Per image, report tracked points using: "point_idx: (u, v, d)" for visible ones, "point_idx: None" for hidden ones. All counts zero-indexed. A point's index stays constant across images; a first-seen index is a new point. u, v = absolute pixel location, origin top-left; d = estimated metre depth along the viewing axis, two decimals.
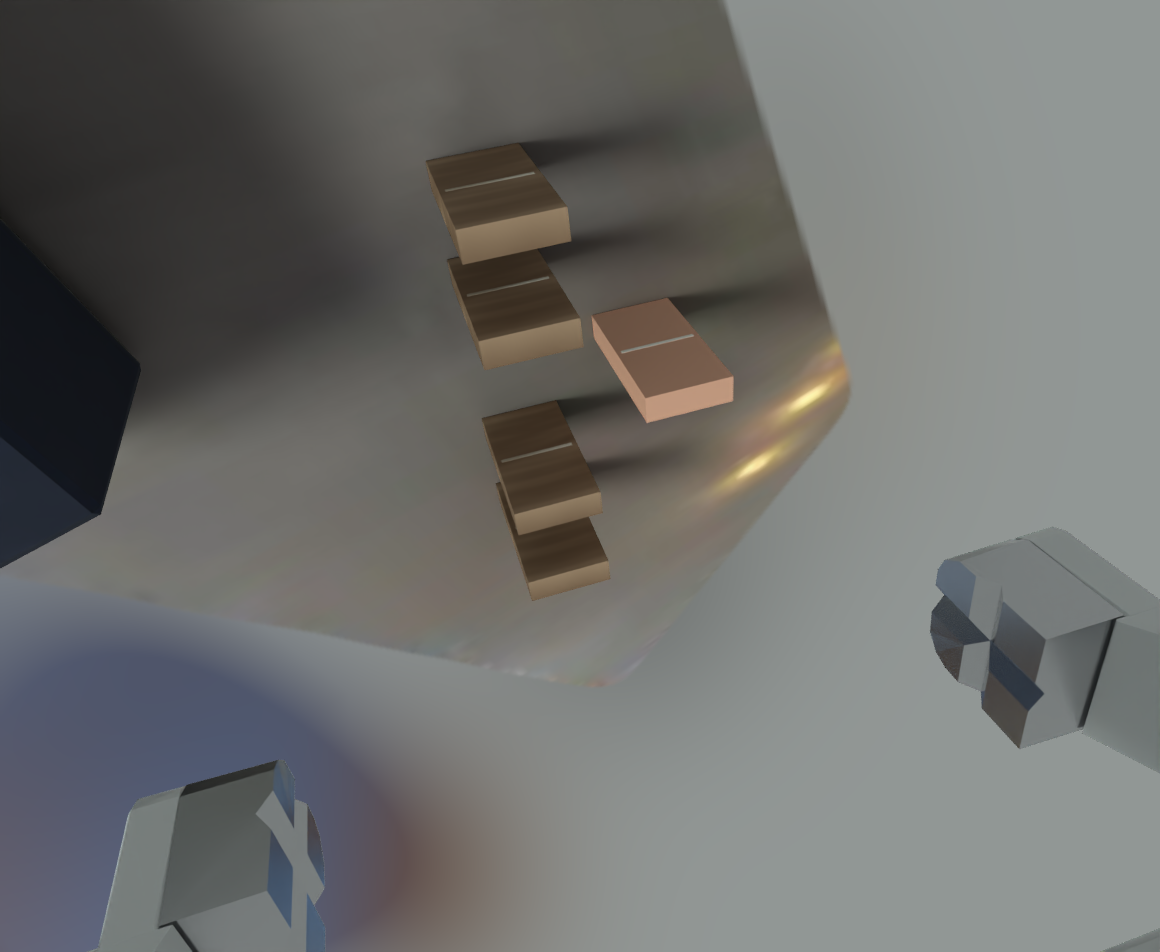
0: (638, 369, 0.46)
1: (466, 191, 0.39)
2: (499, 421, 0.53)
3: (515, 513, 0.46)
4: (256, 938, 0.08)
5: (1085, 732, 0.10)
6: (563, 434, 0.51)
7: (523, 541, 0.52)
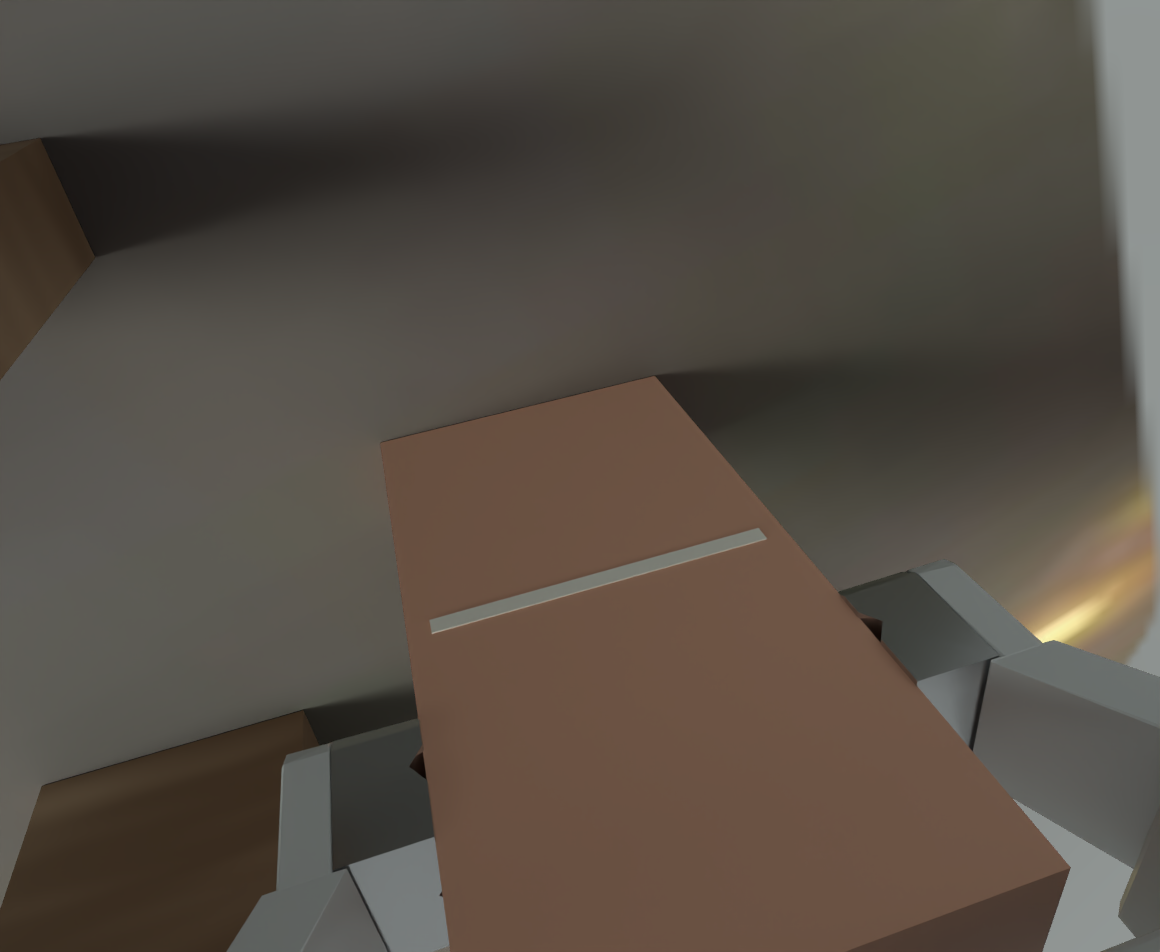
0: (484, 758, 0.08)
1: None
2: (87, 804, 0.15)
3: None
4: (418, 885, 0.08)
5: None
6: None
7: None
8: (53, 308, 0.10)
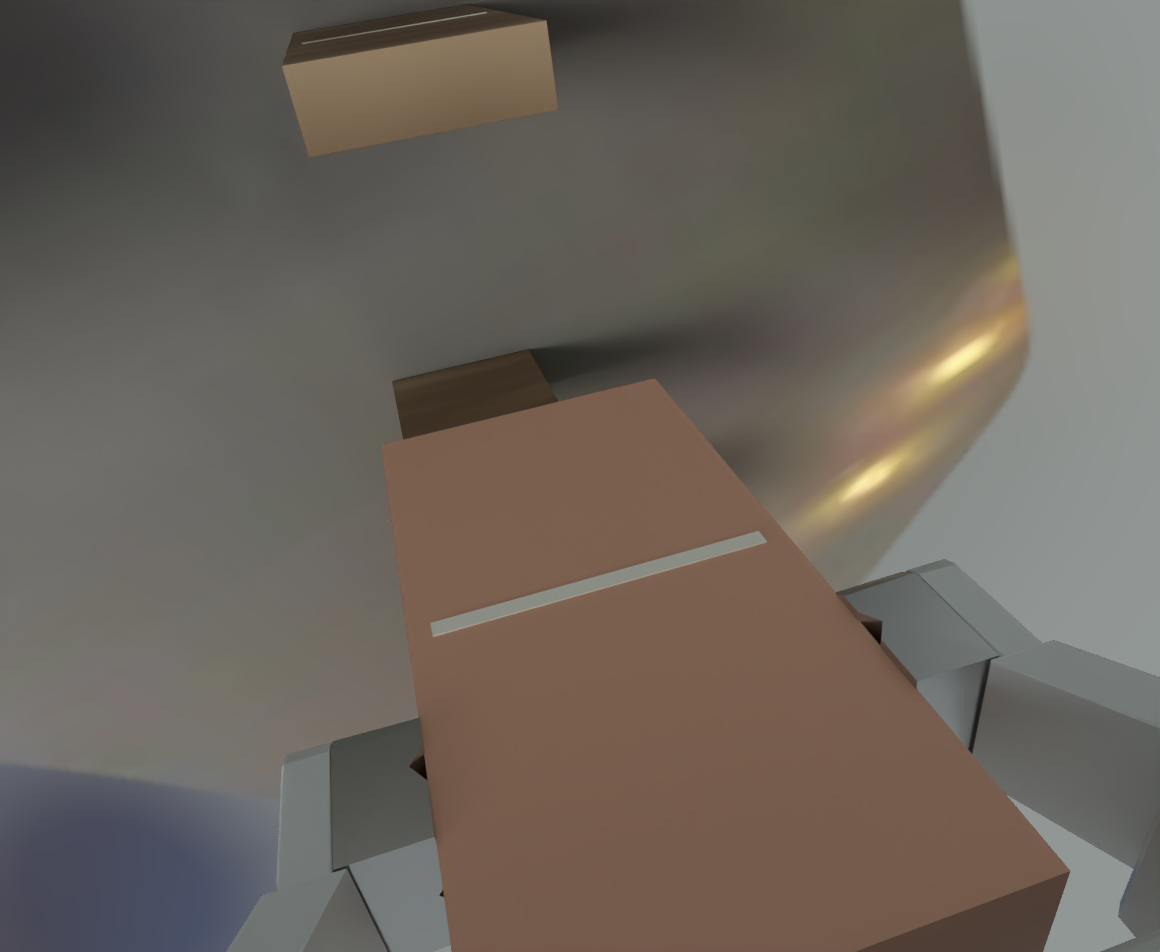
0: (485, 761, 0.08)
1: None
2: (423, 384, 0.29)
3: None
4: (418, 885, 0.08)
5: None
6: (538, 397, 0.27)
7: None
8: None
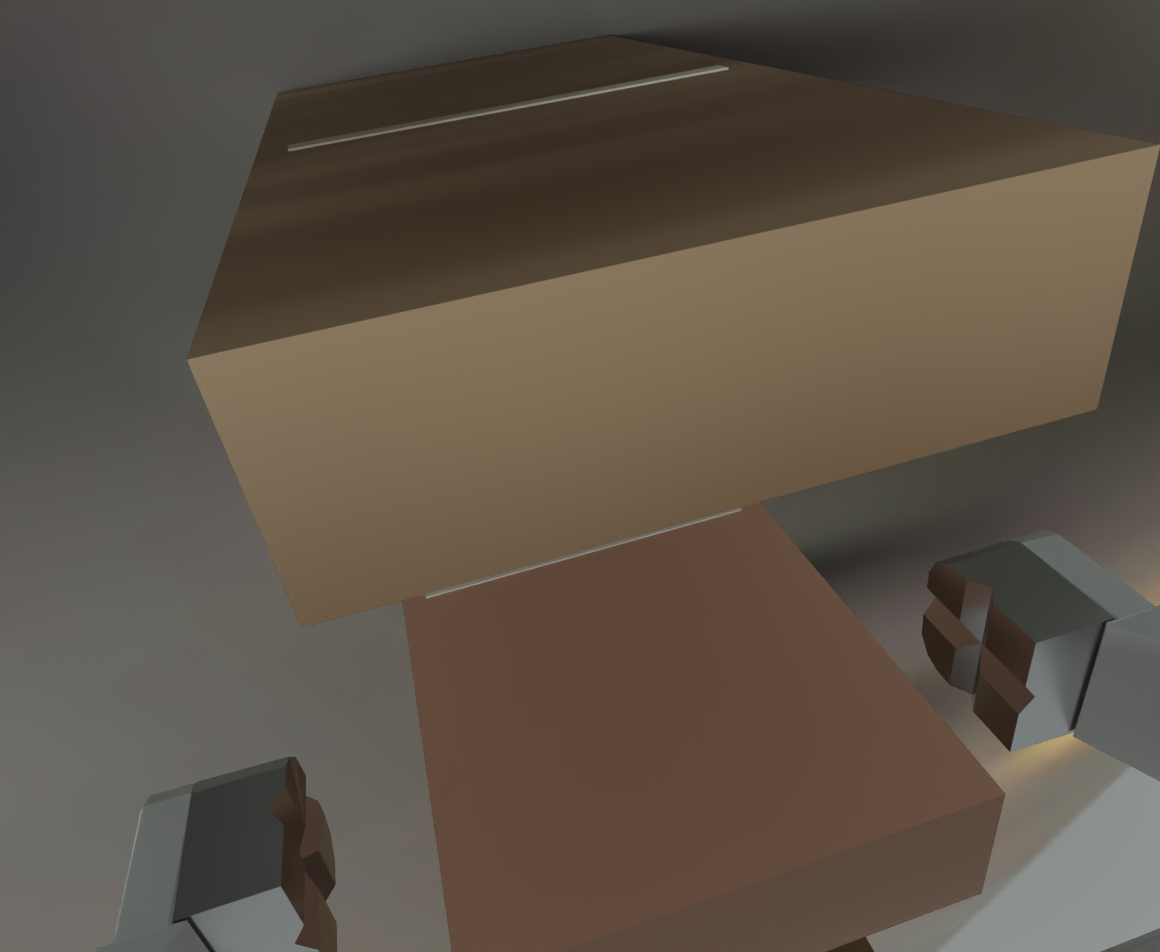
0: (473, 707, 0.09)
1: None
2: None
3: None
4: (270, 934, 0.08)
5: (1076, 735, 0.10)
6: None
7: None
8: None
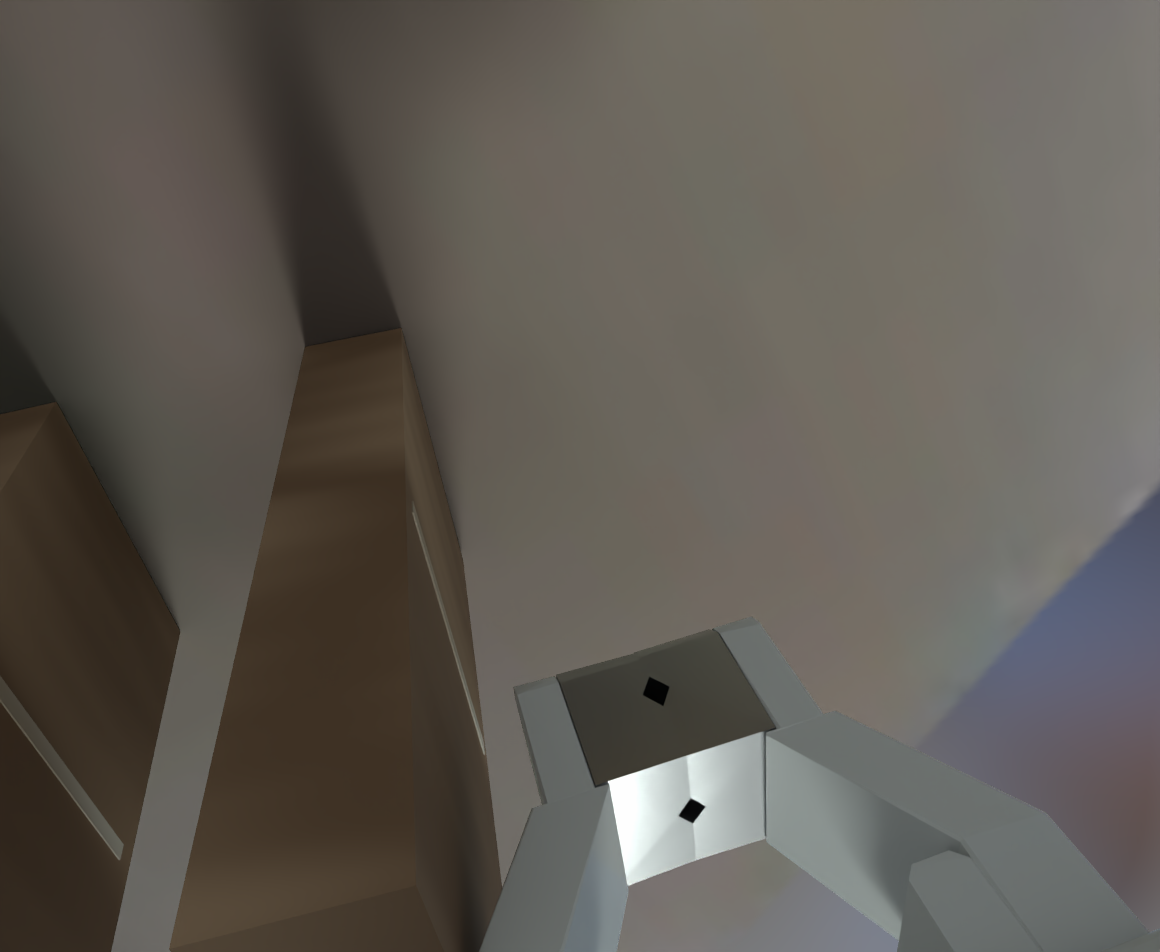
0: None
1: None
2: None
3: None
4: (663, 804, 0.08)
5: (768, 841, 0.09)
6: None
7: None
8: None
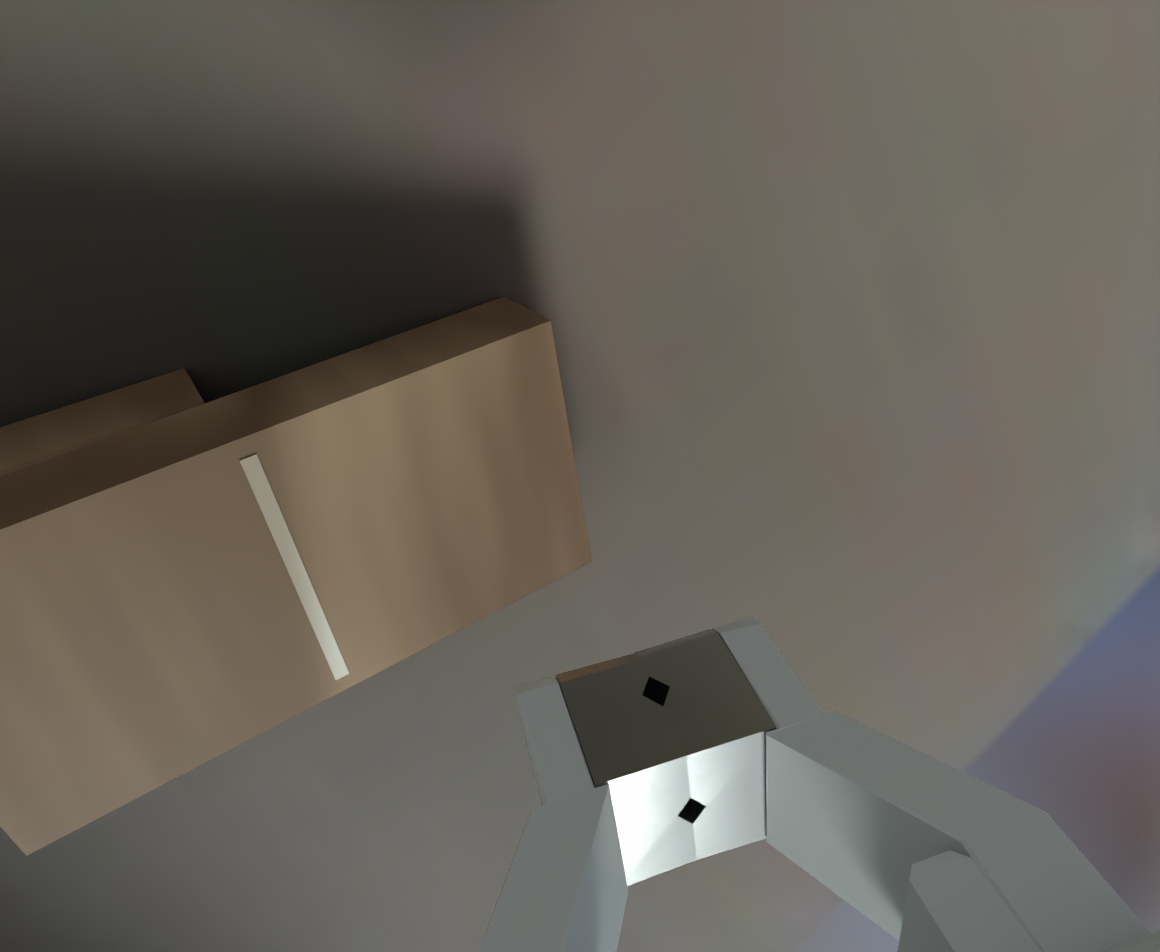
0: None
1: None
2: None
3: None
4: (662, 804, 0.08)
5: (768, 841, 0.09)
6: None
7: None
8: None
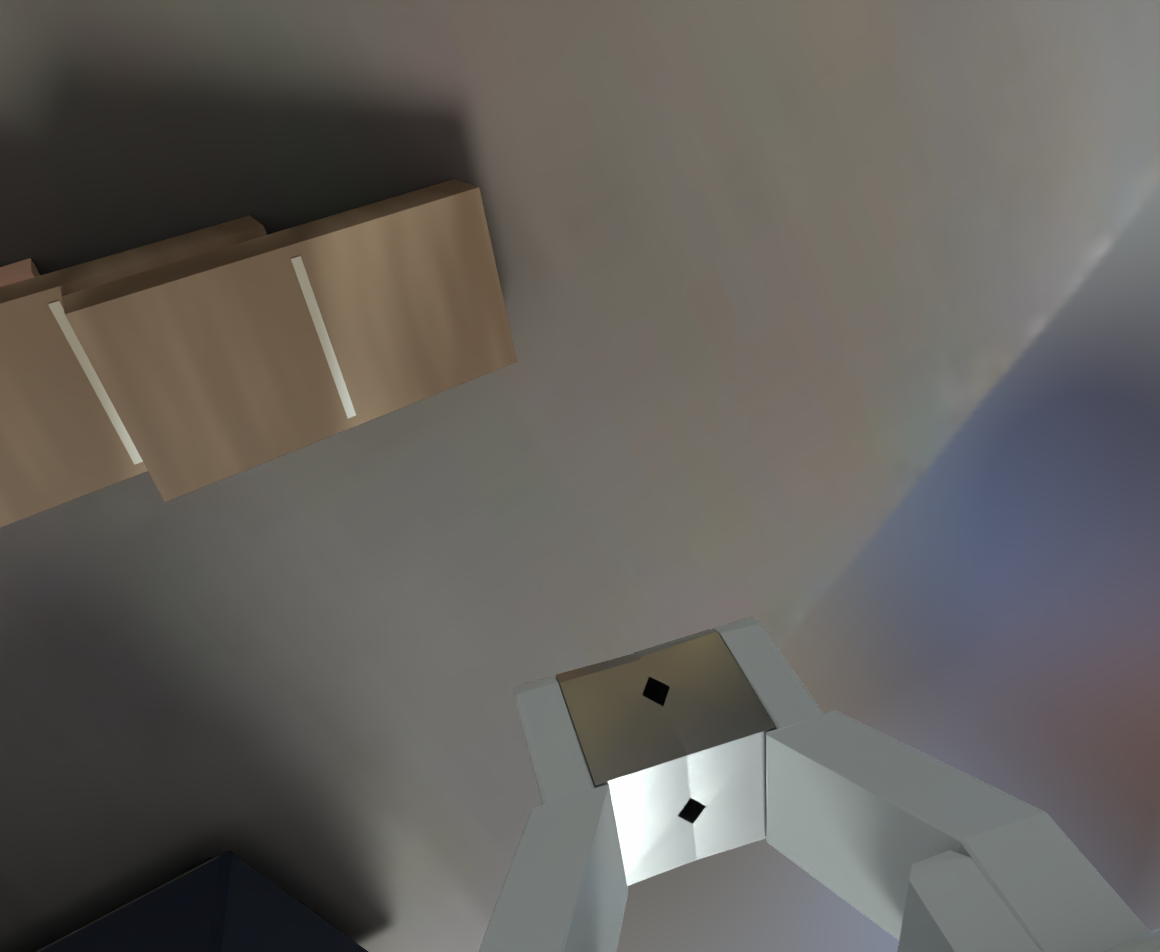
0: None
1: None
2: None
3: None
4: (662, 804, 0.08)
5: (768, 841, 0.09)
6: None
7: None
8: None
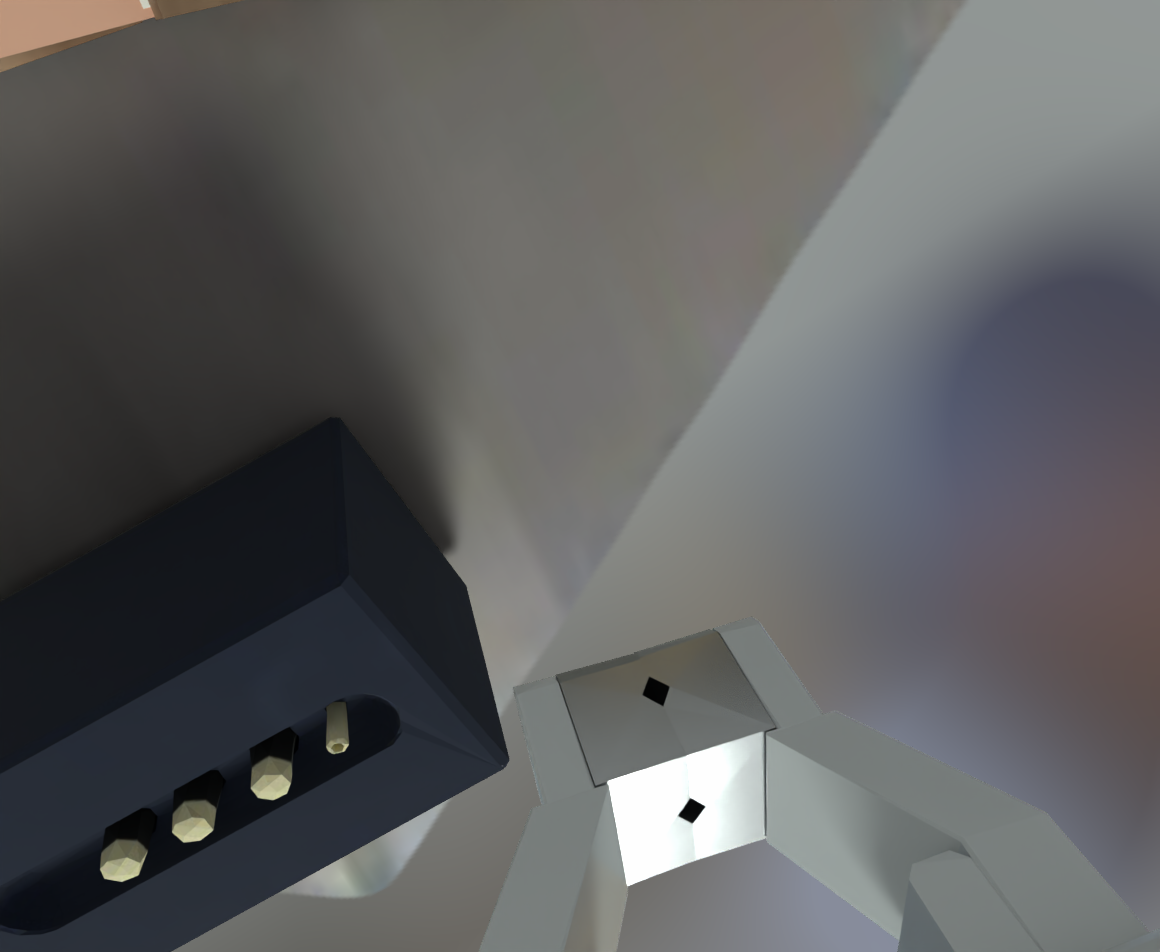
0: None
1: None
2: None
3: (157, 16, 0.28)
4: (662, 804, 0.08)
5: (768, 841, 0.09)
6: None
7: None
8: None
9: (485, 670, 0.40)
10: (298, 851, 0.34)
